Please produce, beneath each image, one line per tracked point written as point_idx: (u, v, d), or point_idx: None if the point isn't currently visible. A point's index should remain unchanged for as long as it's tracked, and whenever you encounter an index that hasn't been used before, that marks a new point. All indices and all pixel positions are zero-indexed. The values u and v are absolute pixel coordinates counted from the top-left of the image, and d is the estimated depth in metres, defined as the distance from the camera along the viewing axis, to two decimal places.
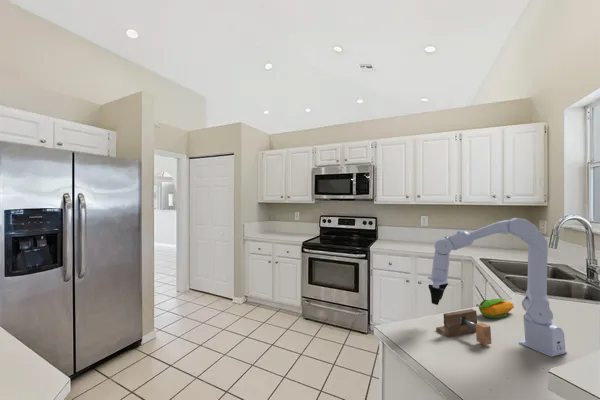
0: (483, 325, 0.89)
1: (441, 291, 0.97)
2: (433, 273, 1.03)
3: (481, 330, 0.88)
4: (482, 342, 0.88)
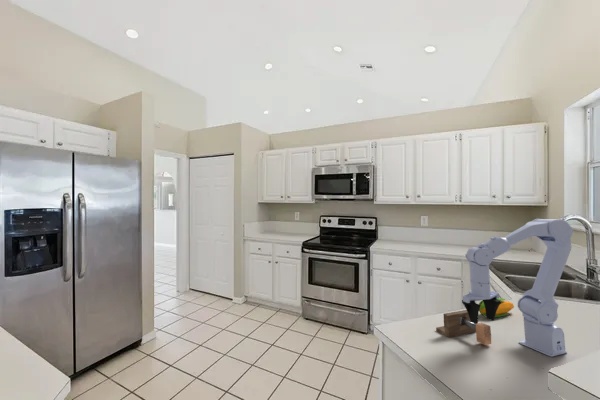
0: (483, 325, 0.89)
1: (473, 306, 0.86)
2: None
3: (481, 330, 0.88)
4: (482, 342, 0.88)
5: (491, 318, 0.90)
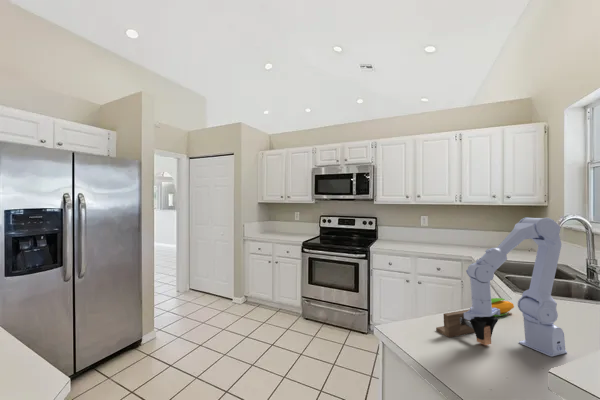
0: None
1: (479, 323, 0.86)
2: (472, 303, 0.91)
3: None
4: (482, 342, 0.88)
5: None
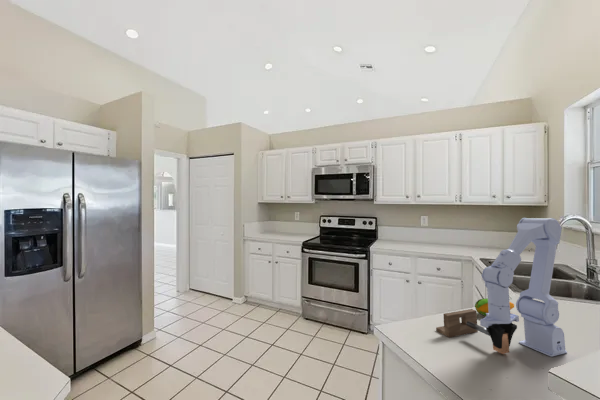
0: None
1: (497, 331, 0.81)
2: (488, 309, 0.85)
3: None
4: (499, 350, 0.82)
5: None
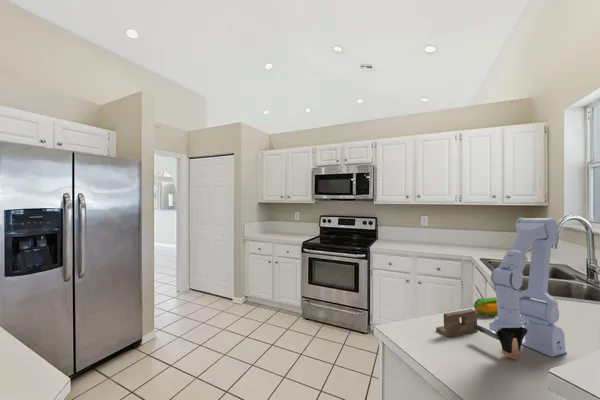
0: None
1: (507, 335, 0.78)
2: (497, 312, 0.82)
3: None
4: (509, 355, 0.80)
5: None
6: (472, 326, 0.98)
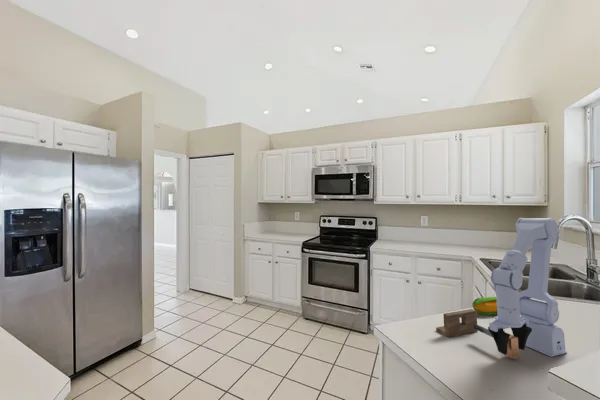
0: (510, 336, 0.81)
1: (502, 336, 0.77)
2: (497, 312, 0.82)
3: None
4: (509, 355, 0.80)
5: (521, 347, 0.81)
6: (472, 326, 0.98)
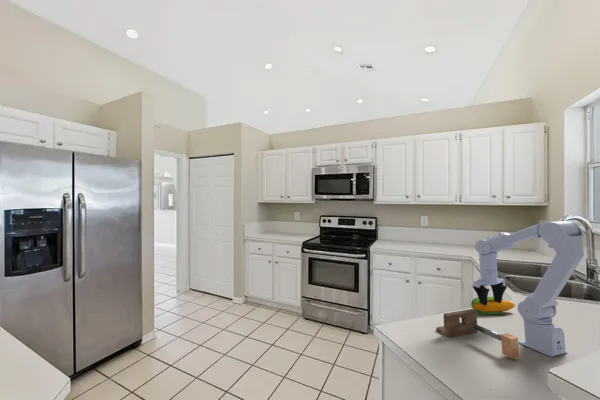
0: (510, 336, 0.81)
1: (483, 290, 0.99)
2: (480, 274, 1.05)
3: (507, 342, 0.80)
4: (509, 355, 0.80)
5: (498, 301, 1.03)
6: (472, 326, 0.98)
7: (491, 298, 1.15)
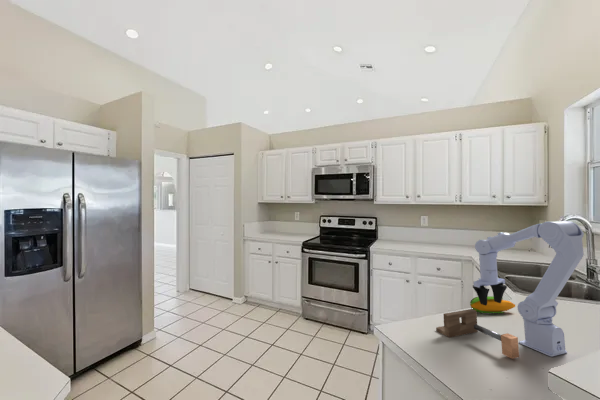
0: (510, 336, 0.81)
1: (483, 290, 0.99)
2: (480, 274, 1.05)
3: (507, 342, 0.80)
4: (509, 355, 0.80)
5: (498, 301, 1.03)
6: (472, 326, 0.98)
7: (490, 298, 1.16)
